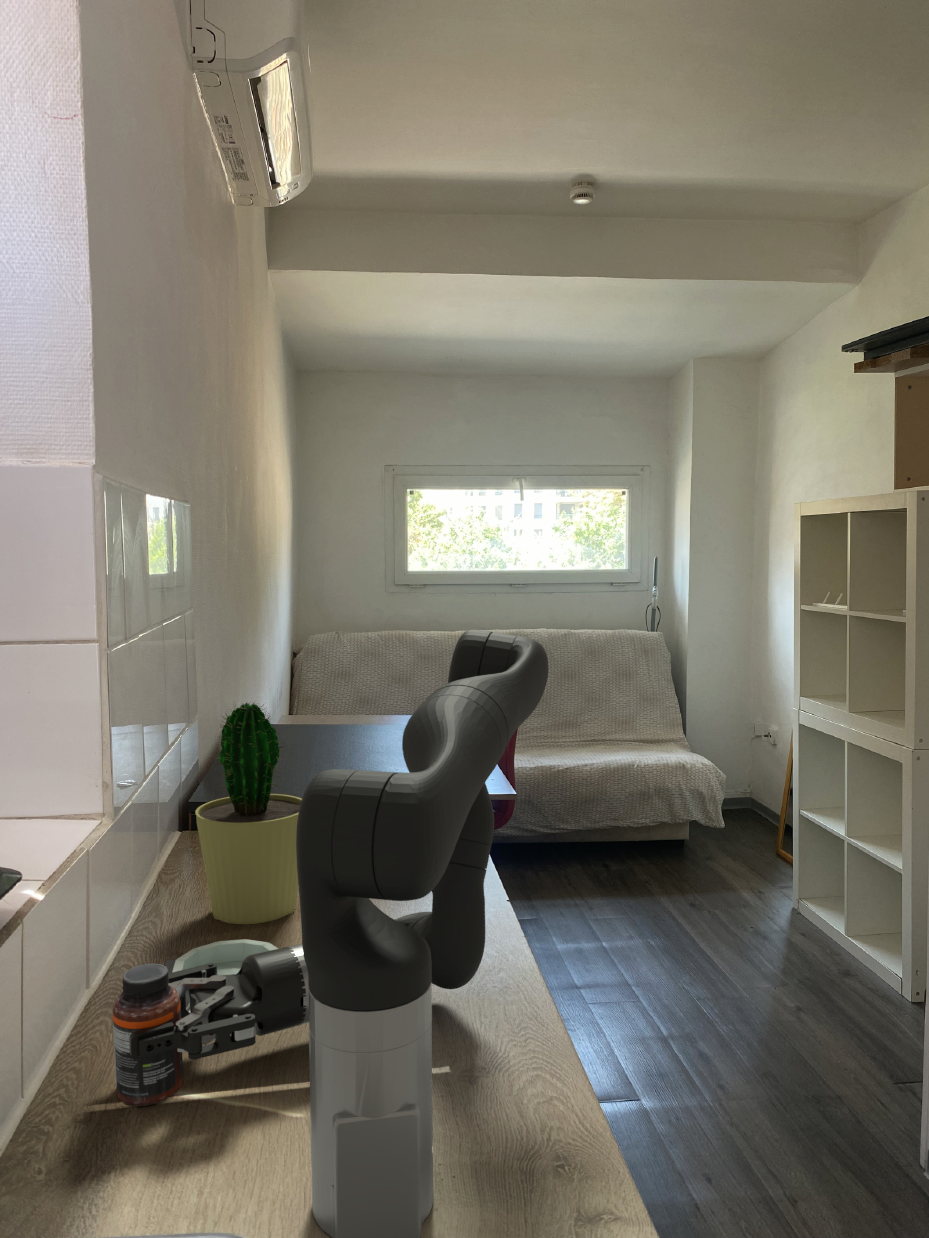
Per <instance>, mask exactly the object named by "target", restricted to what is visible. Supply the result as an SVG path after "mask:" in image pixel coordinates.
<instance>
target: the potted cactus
mask: <svg viewBox="0 0 929 1238" xmlns="http://www.w3.org/2000/svg"><path fill="white" fill-rule="evenodd" d="M255 701H256V700H255ZM255 701H254V702H252V704H251V701H249V703H248V702H245V703H240V704H241V705H240V706H239V707H237V704H236V703H235V701H233V704H234V706H235V707H232V708H233V709H232V708H231V709H229V710H228V708H227V709H226V710H227V713H228V714H227V713H225V715H226V718H224V716H223V715H221V717H222V718H224V720H225V721H224V720H221V722H222V723H221V724H219V728H221V730H220V733H221V735H220V736H219V735H218V736H215V737H216V739H215V740H217V738H219V740H220V743H216V744H215V743H214V745H217V750H220V751H218V752H216V753H217V754H218V755H219V756H218V755H215V758H216V760H219V762H218V763H216V765H218V766H223V771H224V773H219V774H217V777H218V776H222V777H224V780H221V781H219V783H220V782H224V781H225V783H224V785H223V788H224V789H223V791H224V790H227V791H226V792H227V794H229V795H228V796H227V797H226V796H225V797H222V798H217V799H213V800H211V801H208V802H206V803H204V804H202V805H201V804H200V806H198V807H197V808H196V810H195V811H194V812H195V816H196V817H195V818H196V827H197V832H198V837H199V843H200V849H201V855H202V860H203V866H204V871H205V878H206V883H207V890H208V894H209V901H210V906H211V907H210V908H211V912H212V915H213V916H212V917H213V918H214V920H219V921H221V922H224V923H227V924H234V925H253V924H262V923H267V922H268V923H269V922H272V921H276V920H278V919H280V918H281V919H282V918H284V917H286V916H287V915H291V914H293V913H294V911H295V909H296V906H297V905H296V904H297V898H298V891H299V885H298V873H297V855H296V832H297V820H298V814H299V808H300V804H301V800H302V798H303V797H302V798H301V797H298V796H294V795H289V794H281V793H280V794H279V793H274V792H273V791H272V786H273V787H274V786H275V787H278V786H279V785H277V783H275V782H273V779H275V778H279V776H277V773H279V771H278V770H277V768H279V769H280V770H282V768H281V767H279V766H277V763H279V762H280V761H281V760H282V759H281V758H282V757H283V755H281V753H284V751H286V750H287V749H286V748H285V747H286V745H285V744H282V745H281V746H279V745H280V743H283V740H279V737H278V735H280V732H278V733H277V731H280V730H282V728H280V729H278V730H276V729H275V726H274V727H273V723H272V722H271V721H272V718H271V716H270V714H268V712H267V707H265V708H264V706H265V704H266V703H267V702H264V704H263V705H260V706H259V702H258V703H256V702H255ZM257 704H258V705H257ZM229 711H230V712H229ZM230 714H231V715H230ZM280 757H281V758H280ZM209 759H212V757H211V758H209ZM281 762H282V761H281ZM276 766H277V768H276ZM220 785H221V786H220ZM219 787H220V788H222V783H221V784H219ZM279 787H280V786H279ZM220 788H219V789H220Z"/></svg>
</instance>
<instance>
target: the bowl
mask: <svg viewBox="0 0 929 1238" xmlns="http://www.w3.org/2000/svg"><path fill="white" fill-rule="evenodd" d="M275 949H279V948H278V947H277V946H275V945H274V944H272V943H271V942H267V941H260V940H253V939H247V938H246V939H245V938H243V939H230V940H220V941H219V940H218V941H215V942H214V941H213V942H211V943H209V944H204V945H201V946H198V947H197V946H196V947H195V948H192V949H191V950H189V951H187V952H186V953H184V954H183V955H181V956H180V957H177V958H176V959H177V960H176V961H175V964H174V968H173V971H172V973H173V972H177V971H181V970H185V969H189V968H192V967H196V966H200V965H204V964H208V963H216V964H217V974H218V975H231V974H237V973H238V972H239V971H240V969H241V967H242V963H243V961H244V959H245V958H246V957H247V956H249V955H253V954H258V953H262V952H267V951H271V950H275ZM180 982H181V980H180V981H176V982H173V983H180ZM189 1002H190V997H189Z"/></svg>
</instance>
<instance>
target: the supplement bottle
mask: <svg viewBox="0 0 929 1238" xmlns="http://www.w3.org/2000/svg"><path fill="white" fill-rule="evenodd" d="M168 983H169V979H168V969H167V967H165V965H163V964H159V963H145V964H140V965H136V966H134V967H131V968H129V969H128V970H126V971H125V972H124V973H123V975H122V992H121V993H120V995H118V996H117V998H116V999H115V1000H116V1001H115V1000H114V1002H115V1003H114V1002H113V1006H112V1026H113V1027H112V1028H113V1047H114V1049H113V1050H114V1072H115V1074H114V1075H115V1077H114V1078H115V1087H116V1095H117V1098H118V1099H119V1100H120V1101H121V1102H122V1103H124V1104H126V1105H130V1106H134V1107H144V1106H152V1105H154V1104H159V1103H161V1102H163V1101H165V1100H168V1099H169V1098H171V1097H172V1096H173V1095H174V1094H175V1093H176V1092H178V1091H179V1090H180V1088H181V1087H182V1086H183V1081H184V1064H183V1063H184V1062H183V1060H184V1059H183V1058H184V1057H183V1056H184V1055H183V1052H177V1051H176V1049H173V1050H169V1051H166V1052H162V1053H158V1054H155V1055H151V1056H147V1057H144V1058H140V1059H133V1058H132V1057H131V1054H130V1046H129V1037H130V1035H131V1034H132V1033H133V1032H135V1031H139V1030H143V1029H147V1028H151V1027H155V1026H159V1025H162V1024H166V1023H170V1022H172V1023H173V1025H174V1027H175V1026H176V1022H177V1021H179V1020H181V1009H180V996H179V993H178V991H177V990H176V989H175V988H173V987H172V986H169V985H168Z"/></svg>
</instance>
